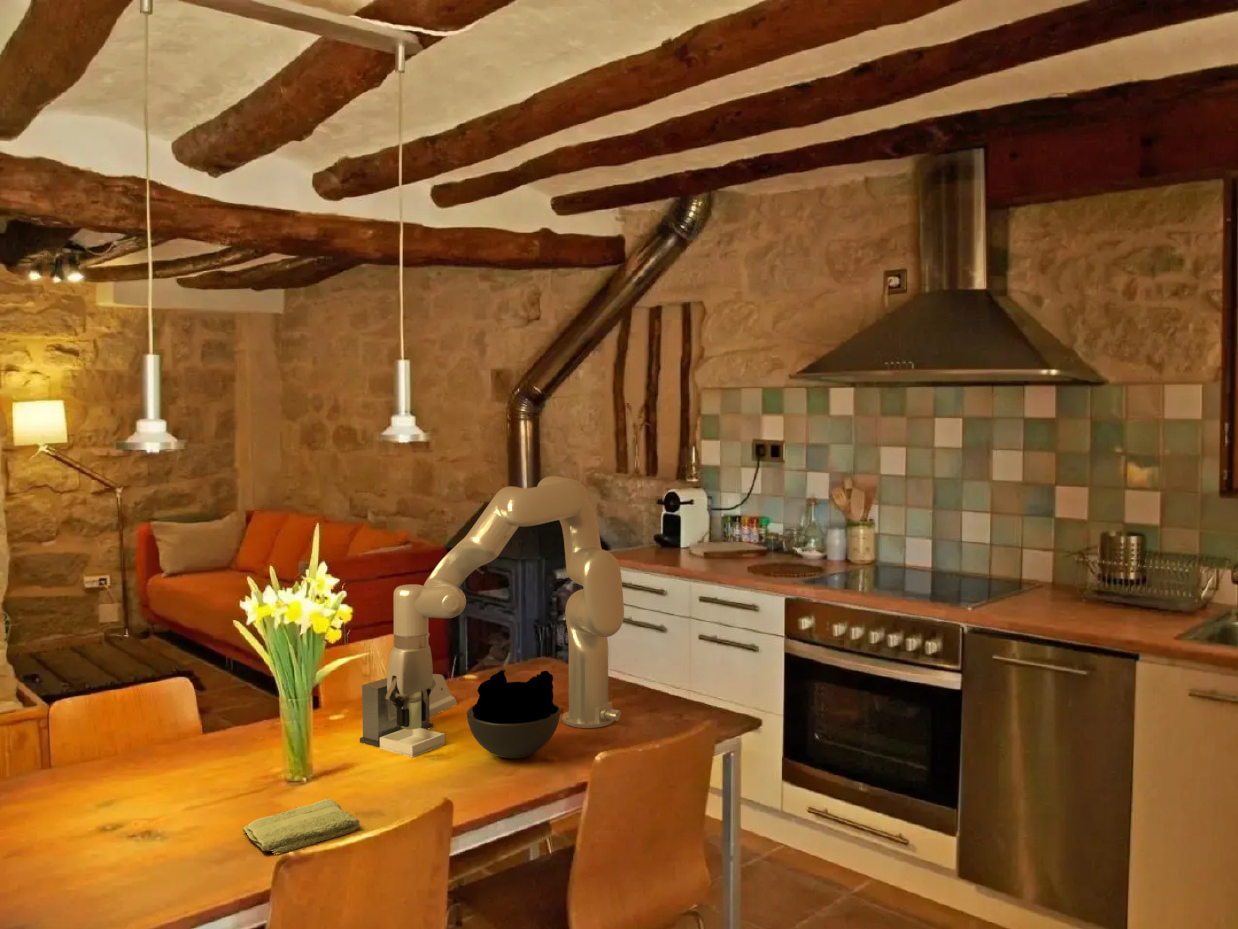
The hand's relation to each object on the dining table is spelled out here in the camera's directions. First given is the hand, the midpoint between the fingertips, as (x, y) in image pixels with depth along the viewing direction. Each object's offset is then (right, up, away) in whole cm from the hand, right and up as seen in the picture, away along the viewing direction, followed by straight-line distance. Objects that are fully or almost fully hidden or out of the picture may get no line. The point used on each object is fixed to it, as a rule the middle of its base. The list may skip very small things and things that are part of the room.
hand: (411, 722), depth 227 cm
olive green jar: (0, -1, 0) cm, 1 cm away
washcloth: (-10, -9, -45) cm, 47 cm away
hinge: (-2, -4, +27) cm, 27 cm away
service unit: (-5, -5, +9) cm, 11 cm away
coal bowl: (+23, -6, -5) cm, 25 cm away
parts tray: (0, -6, 0) cm, 6 cm away
